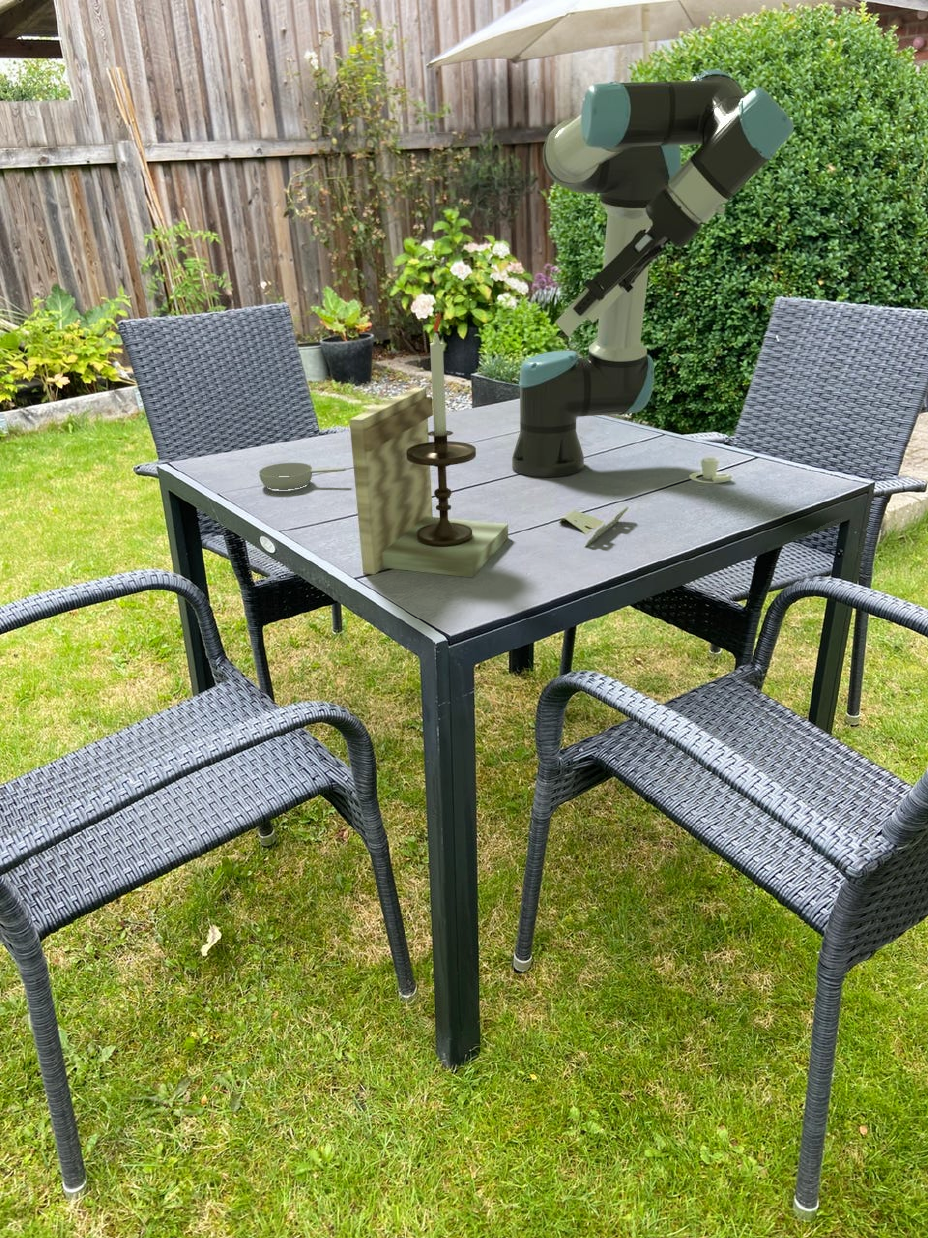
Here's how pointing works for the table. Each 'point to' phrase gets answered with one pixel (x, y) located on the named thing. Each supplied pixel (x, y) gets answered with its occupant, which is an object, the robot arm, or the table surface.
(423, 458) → the candlestick
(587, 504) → the table surface
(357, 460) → the pale wooden blocky structure
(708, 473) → the teacup and saucer
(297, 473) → the small pan
